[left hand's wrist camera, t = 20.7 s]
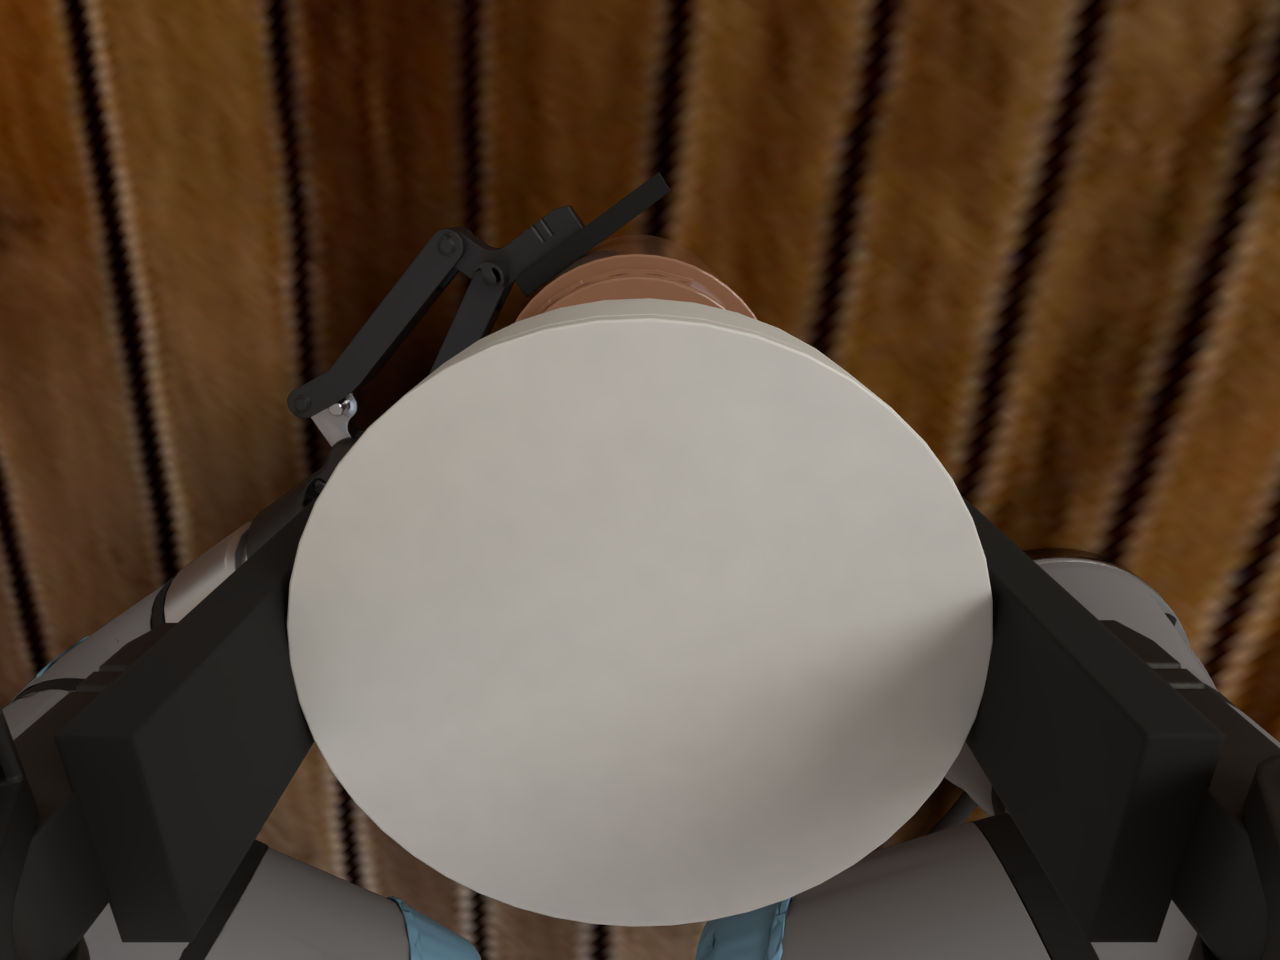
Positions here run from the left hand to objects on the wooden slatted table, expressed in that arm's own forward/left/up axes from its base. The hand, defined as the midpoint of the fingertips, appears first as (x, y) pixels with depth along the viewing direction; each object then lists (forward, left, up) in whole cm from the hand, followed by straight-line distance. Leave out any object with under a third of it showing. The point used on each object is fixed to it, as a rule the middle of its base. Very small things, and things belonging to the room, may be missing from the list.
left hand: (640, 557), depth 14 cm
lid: (0, 0, +3) cm, 3 cm away
